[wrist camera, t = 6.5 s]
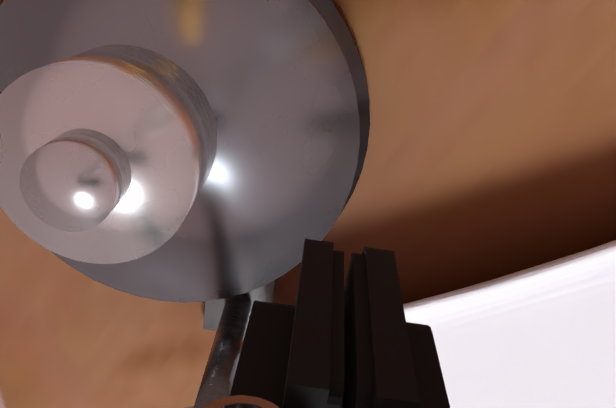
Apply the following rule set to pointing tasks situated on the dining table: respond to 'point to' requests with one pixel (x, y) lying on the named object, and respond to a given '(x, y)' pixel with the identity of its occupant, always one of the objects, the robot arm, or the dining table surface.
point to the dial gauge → (227, 340)
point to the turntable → (222, 129)
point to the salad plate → (529, 335)
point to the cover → (104, 152)
